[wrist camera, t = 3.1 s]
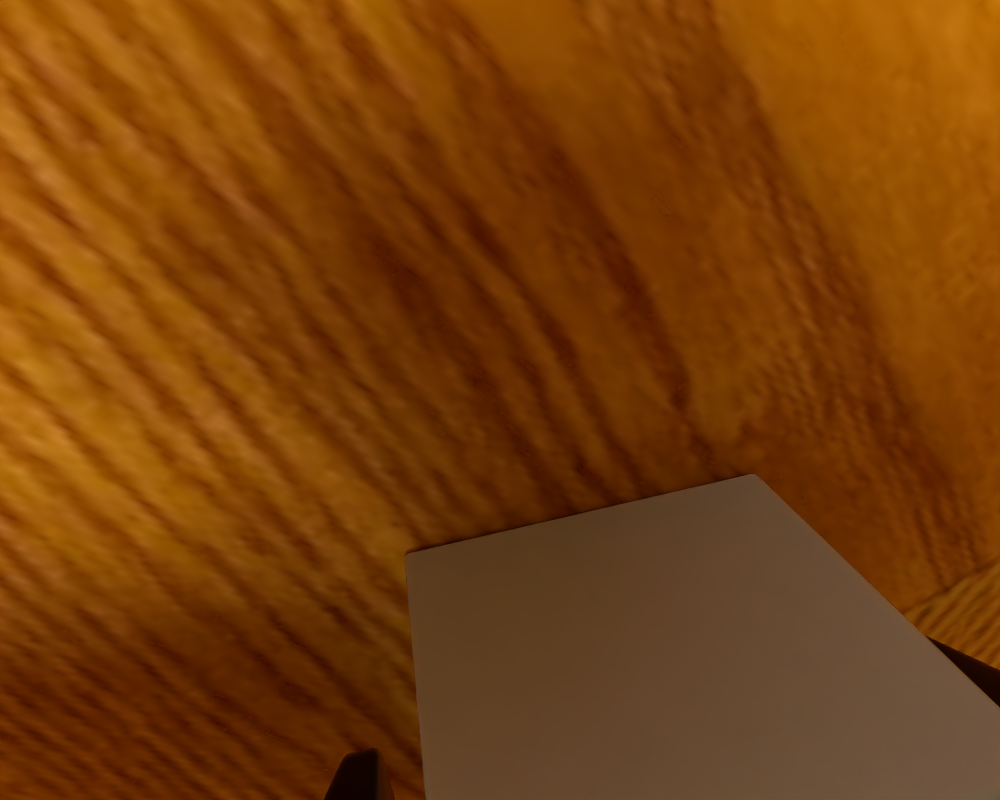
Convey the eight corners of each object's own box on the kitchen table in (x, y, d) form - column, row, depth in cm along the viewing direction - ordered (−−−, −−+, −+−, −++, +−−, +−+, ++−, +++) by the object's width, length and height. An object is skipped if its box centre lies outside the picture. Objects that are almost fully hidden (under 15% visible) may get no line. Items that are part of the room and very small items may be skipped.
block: (758, 727, 11) (994, 1103, 7) (467, 804, 11) (533, 1256, 7) (755, 470, 9) (1076, 775, 5) (403, 552, 9) (436, 959, 5)
